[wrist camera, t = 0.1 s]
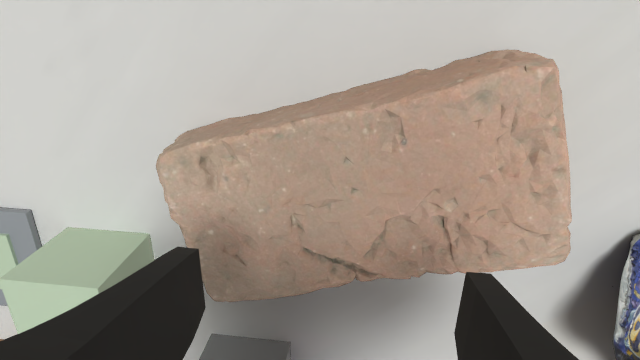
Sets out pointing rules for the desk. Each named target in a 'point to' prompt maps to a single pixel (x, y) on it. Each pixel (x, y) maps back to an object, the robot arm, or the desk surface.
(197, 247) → the brick
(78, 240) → the sage block
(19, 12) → the desk surface
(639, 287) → the snack package
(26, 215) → the plaque
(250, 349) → the charcoal block
